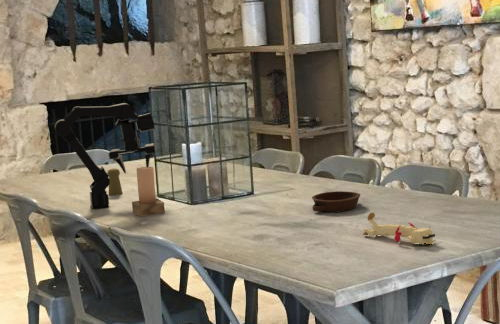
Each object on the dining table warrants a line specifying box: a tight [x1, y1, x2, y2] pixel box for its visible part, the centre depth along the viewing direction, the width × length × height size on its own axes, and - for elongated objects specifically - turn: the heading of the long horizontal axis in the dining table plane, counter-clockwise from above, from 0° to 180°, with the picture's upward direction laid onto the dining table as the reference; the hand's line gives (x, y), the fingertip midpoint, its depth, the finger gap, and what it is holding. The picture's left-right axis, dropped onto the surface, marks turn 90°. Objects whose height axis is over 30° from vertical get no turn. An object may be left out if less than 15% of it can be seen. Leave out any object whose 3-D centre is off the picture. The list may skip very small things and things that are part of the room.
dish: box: [311, 190, 361, 213], centre depth 320 cm, size 18×22×5 cm
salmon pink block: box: [135, 166, 157, 204], centre depth 334 cm, size 6×6×13 cm
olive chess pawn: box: [107, 168, 123, 196], centre depth 379 cm, size 6×6×11 cm
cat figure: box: [362, 212, 437, 245], centre depth 267 cm, size 10×9×25 cm
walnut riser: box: [131, 198, 166, 217], centre depth 336 cm, size 10×10×4 cm
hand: (136, 171), depth 356 cm, fingers open, 9 cm apart
